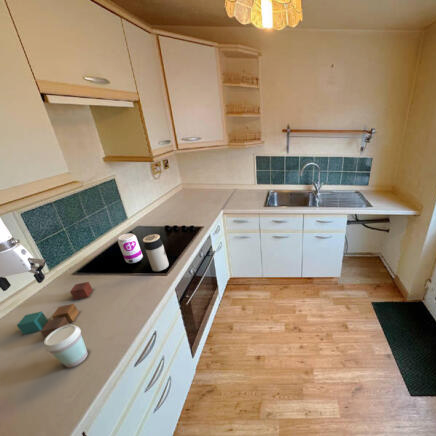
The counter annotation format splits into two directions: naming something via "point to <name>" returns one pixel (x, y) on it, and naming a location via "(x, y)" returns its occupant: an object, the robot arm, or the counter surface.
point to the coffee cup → (66, 345)
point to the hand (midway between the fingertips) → (25, 284)
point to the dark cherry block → (81, 290)
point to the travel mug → (155, 252)
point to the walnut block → (53, 325)
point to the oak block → (66, 312)
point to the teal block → (32, 322)
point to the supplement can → (130, 248)
